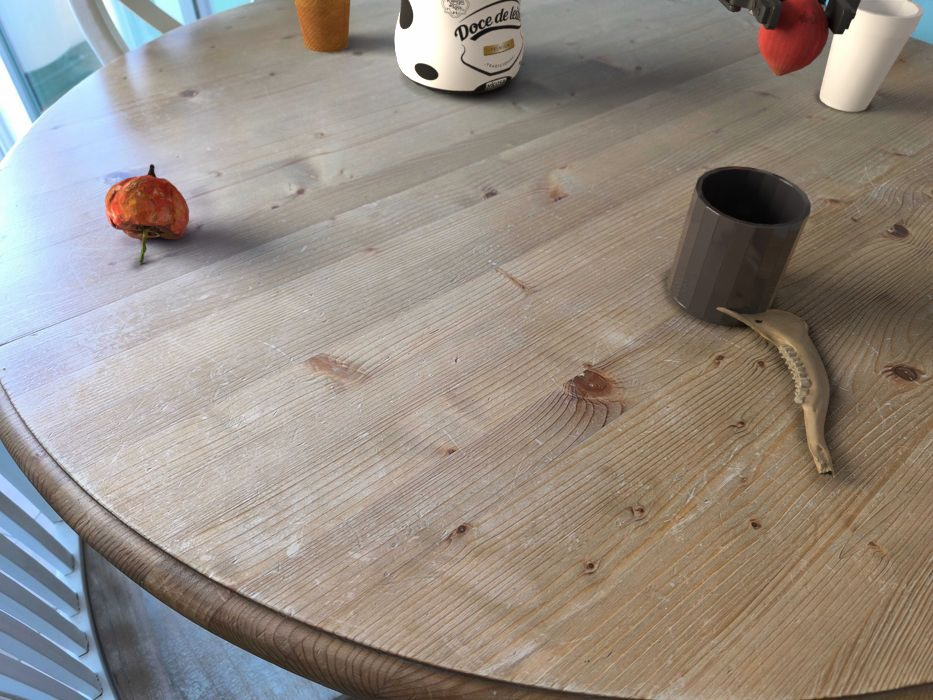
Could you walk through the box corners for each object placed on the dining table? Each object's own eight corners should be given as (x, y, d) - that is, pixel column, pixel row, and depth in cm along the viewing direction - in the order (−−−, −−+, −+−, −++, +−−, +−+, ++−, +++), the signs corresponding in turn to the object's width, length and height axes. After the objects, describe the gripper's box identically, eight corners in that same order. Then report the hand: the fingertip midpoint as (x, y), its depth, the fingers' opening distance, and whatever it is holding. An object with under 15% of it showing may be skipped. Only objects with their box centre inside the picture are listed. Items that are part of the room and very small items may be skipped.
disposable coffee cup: (283, 39, 111) (271, -49, 102) (341, 27, 115) (334, -58, 106) (310, 63, 105) (300, -28, 97) (370, 50, 109) (366, -39, 101)
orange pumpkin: (193, 278, 74) (213, 182, 75) (147, 256, 67) (170, 151, 68) (127, 271, 75) (148, 177, 77) (76, 249, 68) (100, 146, 70)
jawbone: (773, 302, 72) (782, 285, 71) (915, 471, 58) (930, 454, 57) (692, 308, 69) (700, 290, 68) (820, 486, 56) (833, 469, 54)
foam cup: (794, 98, 103) (830, 0, 94) (828, 81, 108) (865, -15, 99) (858, 125, 98) (903, 24, 89) (891, 105, 103) (936, 7, 94)
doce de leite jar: (505, 114, 96) (517, -36, 84) (378, 94, 99) (371, -55, 87) (532, 61, 108) (546, -77, 96) (418, 44, 111) (417, -92, 99)
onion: (818, 73, 71) (852, -16, 66) (800, 95, 68) (834, 3, 62) (759, 56, 74) (786, -31, 68) (739, 77, 70) (766, -13, 64)
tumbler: (757, 266, 75) (794, 169, 67) (779, 331, 68) (824, 231, 60) (661, 260, 75) (688, 162, 68) (674, 324, 68) (705, 223, 61)
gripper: (706, -88, 74) (738, -31, 62) (852, -79, 74) (913, -20, 62) (687, -9, 79) (714, 58, 67) (823, 0, 79) (875, 69, 67)
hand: (809, 20), depth 65 cm, fingers closed on onion, 5 cm apart
